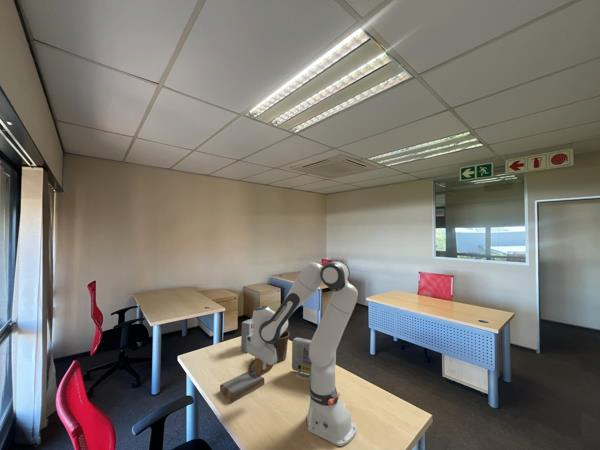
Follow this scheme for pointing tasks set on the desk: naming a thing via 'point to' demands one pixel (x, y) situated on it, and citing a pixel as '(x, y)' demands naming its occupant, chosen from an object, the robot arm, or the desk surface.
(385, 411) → the desk surface
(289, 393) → the desk surface
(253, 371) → the tin
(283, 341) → the plant pot
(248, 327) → the hard drive box
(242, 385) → the plinth
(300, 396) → the desk surface
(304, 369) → the network device
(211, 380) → the desk surface
